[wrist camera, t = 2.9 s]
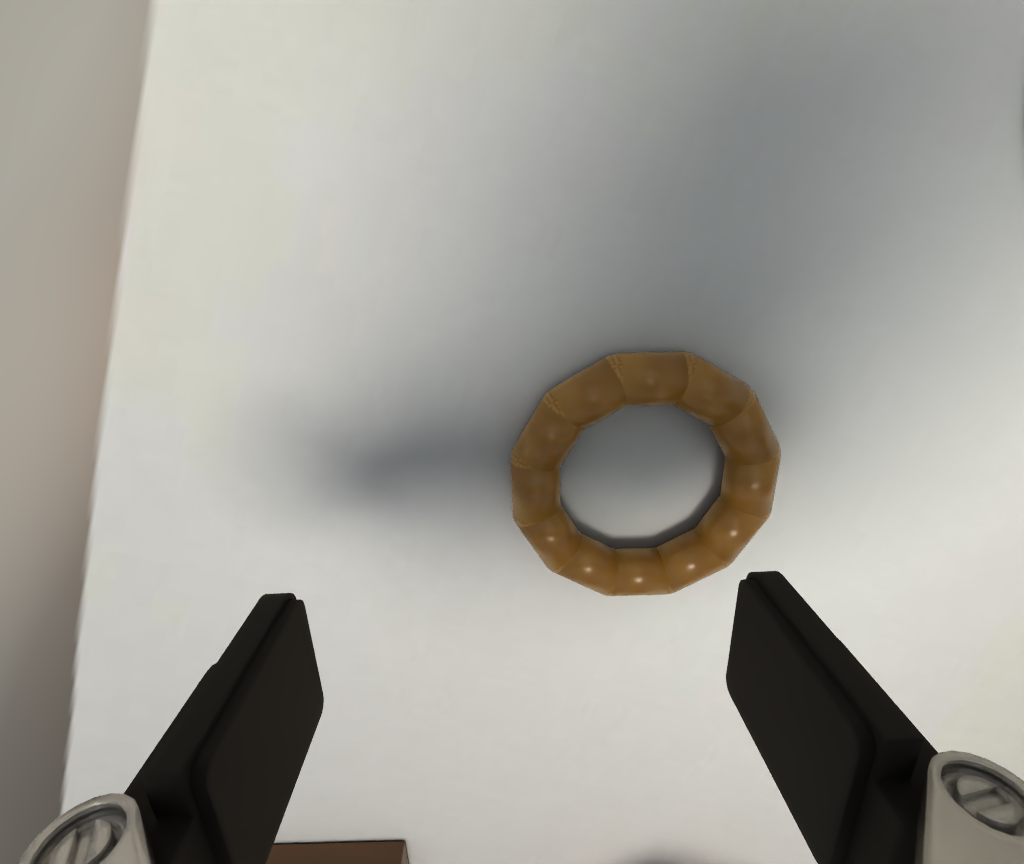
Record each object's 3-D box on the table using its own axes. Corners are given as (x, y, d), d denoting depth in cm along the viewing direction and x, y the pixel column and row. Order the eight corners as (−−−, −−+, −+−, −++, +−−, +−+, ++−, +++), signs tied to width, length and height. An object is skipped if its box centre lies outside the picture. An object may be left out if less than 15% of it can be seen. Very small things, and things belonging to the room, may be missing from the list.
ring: (506, 352, 16) (506, 363, 15) (781, 342, 16) (809, 354, 15) (515, 579, 19) (515, 609, 18) (746, 572, 19) (766, 601, 18)
